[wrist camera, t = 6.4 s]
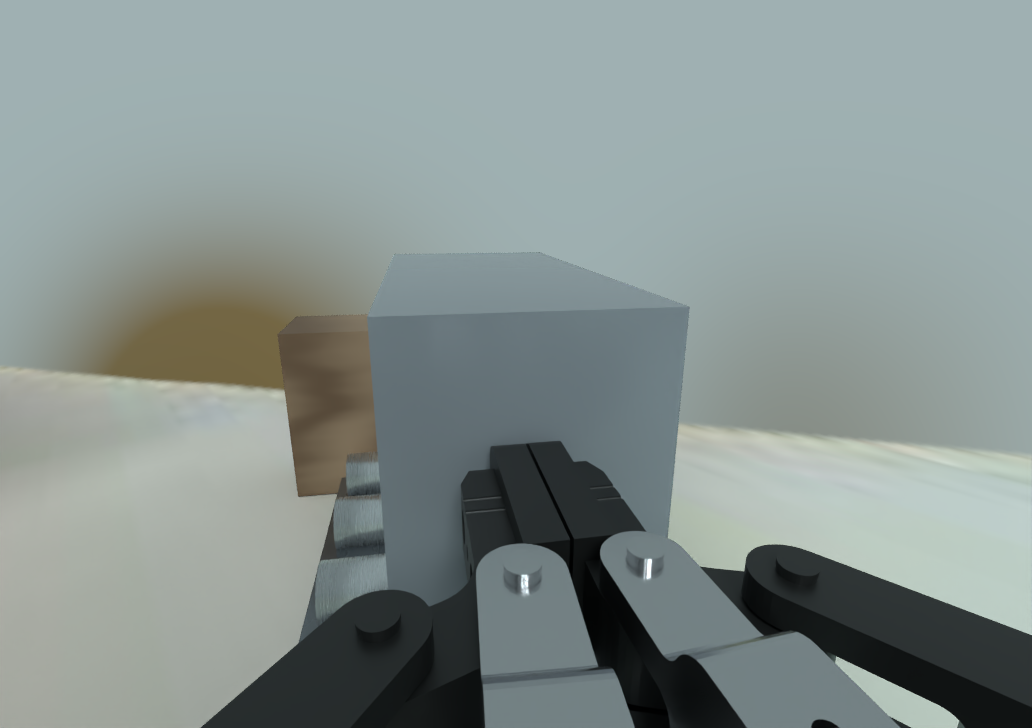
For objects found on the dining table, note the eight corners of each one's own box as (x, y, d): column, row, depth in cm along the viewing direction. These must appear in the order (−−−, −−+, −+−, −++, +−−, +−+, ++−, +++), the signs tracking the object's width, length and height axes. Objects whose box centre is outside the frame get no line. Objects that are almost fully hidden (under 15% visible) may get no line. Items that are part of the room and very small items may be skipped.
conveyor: (-4, 1928, 4) (-102, 1883, 4) (343, 492, 26) (338, 447, 25) (1142, 1361, 6) (1216, 1265, 6) (579, 471, 28) (581, 429, 27)
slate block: (656, 654, 14) (689, 306, 11) (396, 694, 12) (366, 316, 10) (537, 434, 27) (540, 252, 24) (405, 443, 26) (394, 254, 23)
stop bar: (297, 496, 26) (277, 334, 23) (312, 459, 29) (296, 316, 27) (614, 468, 28) (623, 321, 26) (590, 437, 32) (596, 307, 30)
